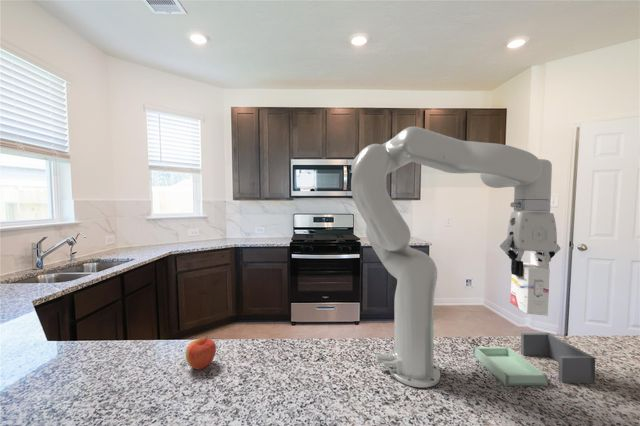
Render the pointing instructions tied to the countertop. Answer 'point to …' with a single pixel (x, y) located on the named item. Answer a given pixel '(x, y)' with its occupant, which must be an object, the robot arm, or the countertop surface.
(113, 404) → the countertop surface
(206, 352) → the apple
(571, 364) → the bracket
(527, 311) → the ink cartridge box
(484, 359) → the tray
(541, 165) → the robot arm
